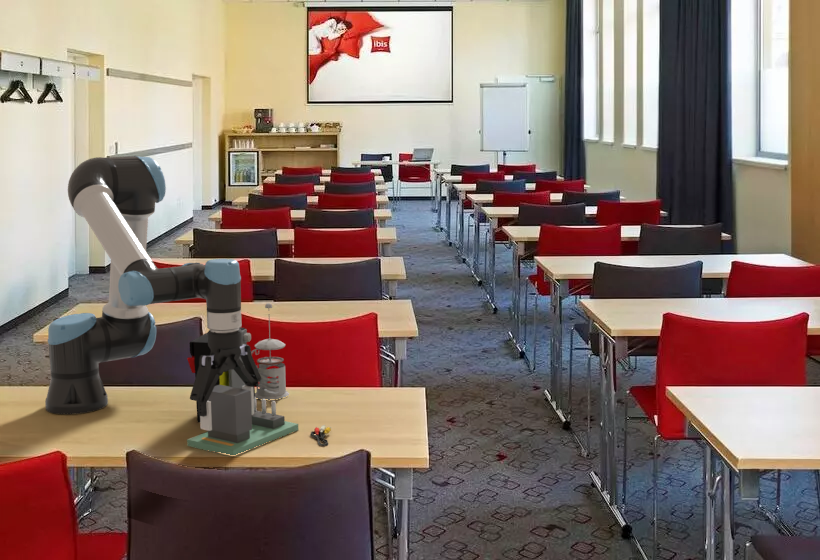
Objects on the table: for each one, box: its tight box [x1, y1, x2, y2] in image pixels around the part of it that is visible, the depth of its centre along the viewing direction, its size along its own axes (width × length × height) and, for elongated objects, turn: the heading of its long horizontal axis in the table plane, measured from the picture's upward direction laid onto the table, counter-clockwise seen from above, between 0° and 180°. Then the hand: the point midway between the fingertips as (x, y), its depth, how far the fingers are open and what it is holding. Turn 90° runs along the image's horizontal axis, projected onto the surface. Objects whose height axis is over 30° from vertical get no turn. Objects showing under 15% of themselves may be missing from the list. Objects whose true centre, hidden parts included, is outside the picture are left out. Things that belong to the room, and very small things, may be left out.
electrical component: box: [186, 327, 252, 424], centre depth 237 cm, size 18×10×20 cm, turn 168°
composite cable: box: [309, 424, 332, 447], centre depth 218 cm, size 10×5×2 cm, turn 1°
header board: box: [186, 397, 299, 455], centre depth 219 cm, size 14×22×8 cm, turn 147°
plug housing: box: [208, 385, 252, 435], centre depth 214 cm, size 10×5×9 cm, turn 57°
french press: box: [251, 302, 290, 400], centre depth 252 cm, size 10×12×25 cm
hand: (228, 421), depth 214 cm, fingers open, 13 cm apart
